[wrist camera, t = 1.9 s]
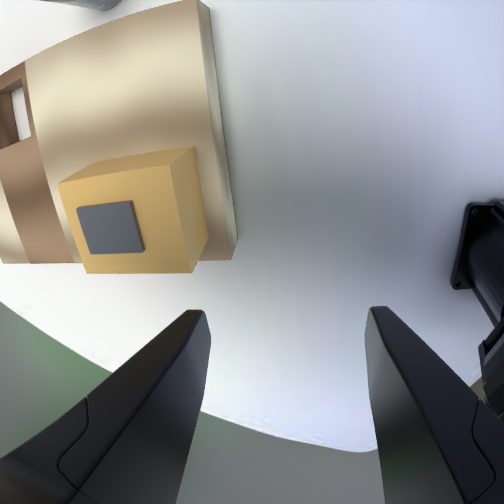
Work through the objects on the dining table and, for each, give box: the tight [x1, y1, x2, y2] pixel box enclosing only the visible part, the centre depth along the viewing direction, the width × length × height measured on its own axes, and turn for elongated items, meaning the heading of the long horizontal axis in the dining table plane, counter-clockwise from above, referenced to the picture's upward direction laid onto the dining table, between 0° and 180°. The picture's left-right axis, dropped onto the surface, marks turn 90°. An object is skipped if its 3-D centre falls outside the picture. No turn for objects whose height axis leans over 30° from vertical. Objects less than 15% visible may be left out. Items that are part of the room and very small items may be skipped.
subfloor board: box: [0, 0, 238, 264], centre depth 17 cm, size 14×20×2 cm
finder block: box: [57, 146, 209, 273], centre depth 15 cm, size 5×6×4 cm
